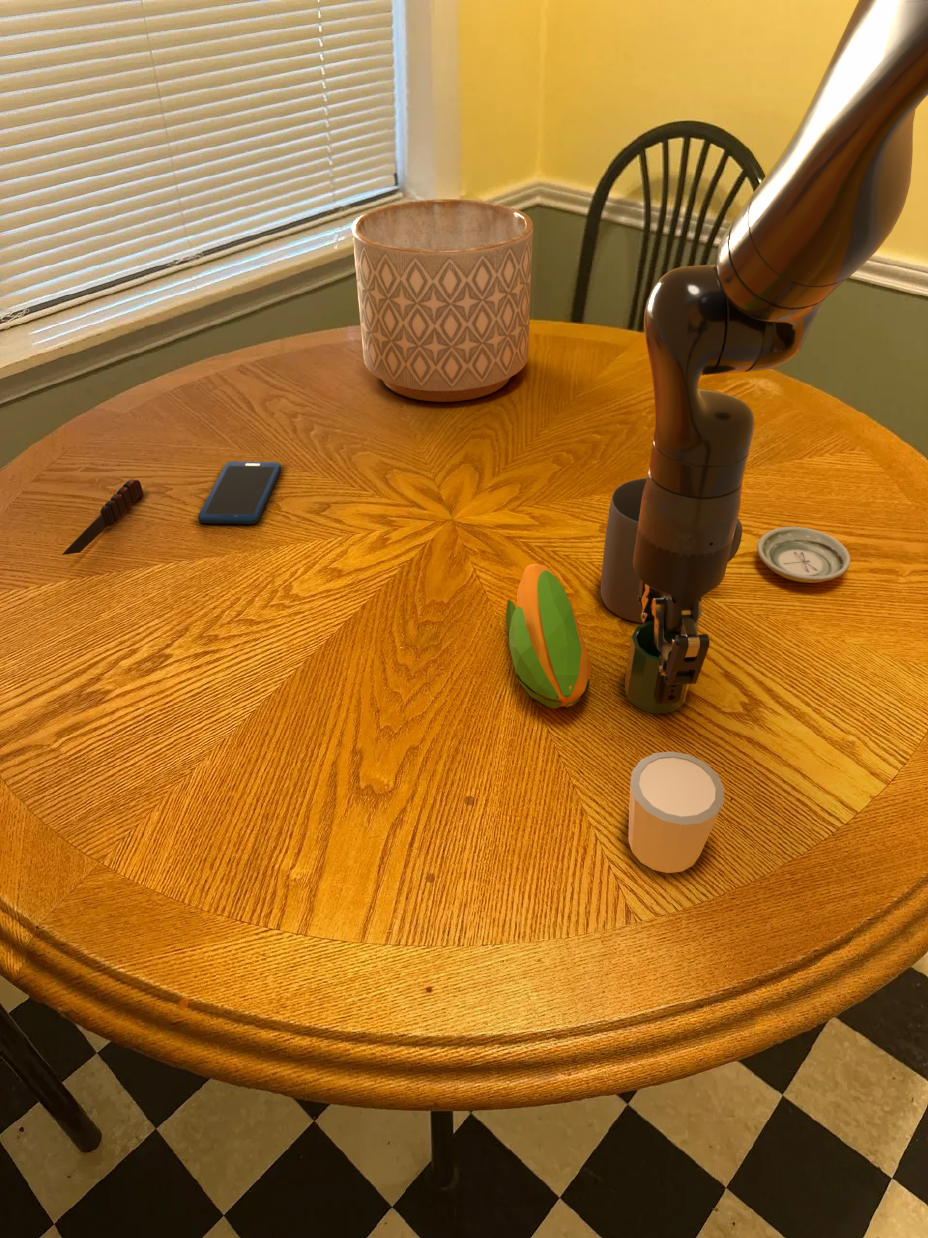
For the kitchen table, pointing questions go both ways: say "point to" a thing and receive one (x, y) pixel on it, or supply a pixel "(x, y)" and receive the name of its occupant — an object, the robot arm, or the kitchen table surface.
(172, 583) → the kitchen table surface
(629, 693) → the green faceted cup
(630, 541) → the mug
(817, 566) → the saucer
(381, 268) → the planter
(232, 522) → the cell phone
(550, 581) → the corn
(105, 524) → the knife
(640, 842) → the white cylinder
